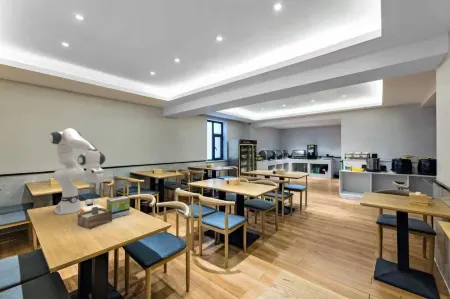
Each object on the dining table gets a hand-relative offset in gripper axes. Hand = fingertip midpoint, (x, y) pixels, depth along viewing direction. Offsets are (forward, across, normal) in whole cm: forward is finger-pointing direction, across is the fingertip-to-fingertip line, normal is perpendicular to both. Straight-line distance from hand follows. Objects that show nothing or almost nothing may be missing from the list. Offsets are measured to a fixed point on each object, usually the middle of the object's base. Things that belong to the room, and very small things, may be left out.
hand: (94, 188), depth 152 cm
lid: (+21, +1, 0) cm, 21 cm away
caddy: (+27, 0, 0) cm, 27 cm away
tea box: (+27, -1, +18) cm, 33 cm away
